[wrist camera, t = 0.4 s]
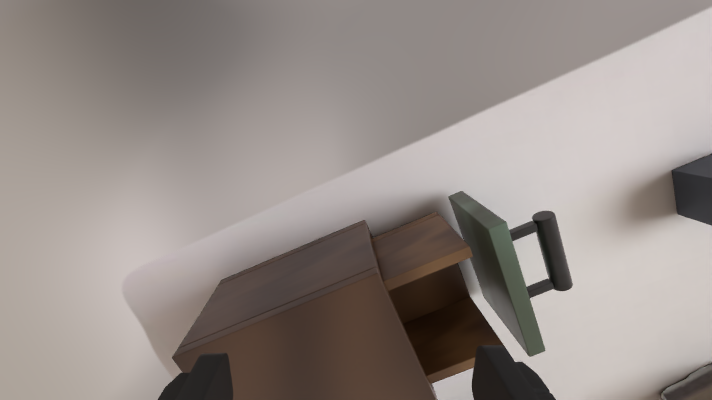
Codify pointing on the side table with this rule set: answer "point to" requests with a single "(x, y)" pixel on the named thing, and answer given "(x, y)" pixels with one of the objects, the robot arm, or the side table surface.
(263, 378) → the cabinet
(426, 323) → the drawer
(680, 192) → the block
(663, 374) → the side table surface
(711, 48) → the side table surface
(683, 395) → the decorative sculpture
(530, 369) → the robot arm
